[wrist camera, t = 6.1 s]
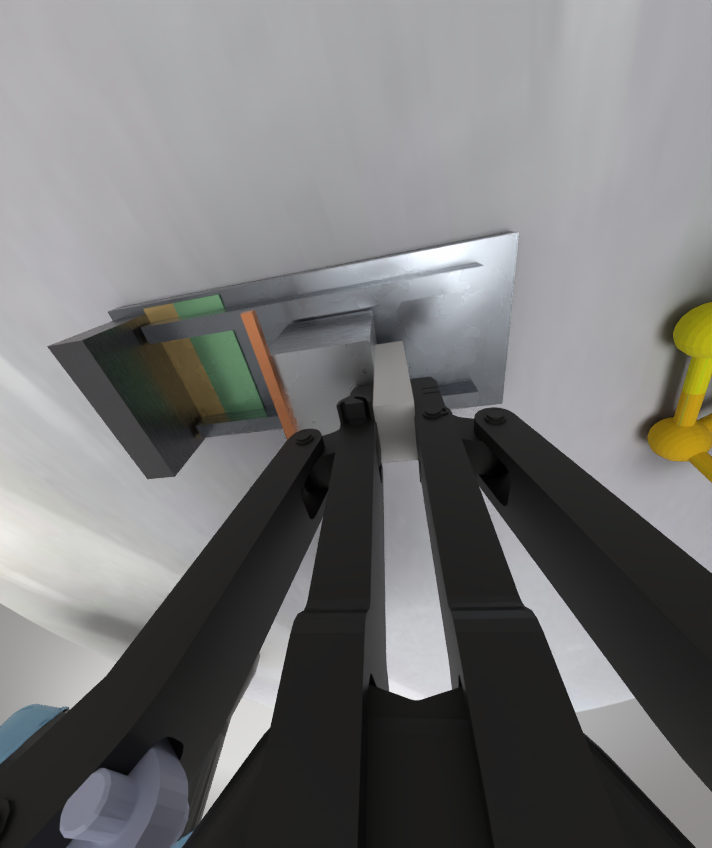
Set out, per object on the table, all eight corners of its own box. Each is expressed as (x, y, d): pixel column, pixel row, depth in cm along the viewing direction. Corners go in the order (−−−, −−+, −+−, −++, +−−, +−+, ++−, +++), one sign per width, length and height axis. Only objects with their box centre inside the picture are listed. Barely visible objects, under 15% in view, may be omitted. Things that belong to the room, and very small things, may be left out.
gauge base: (192, 431, 25) (144, 485, 20) (121, 307, 20) (31, 338, 15) (496, 395, 22) (532, 449, 17) (510, 231, 16) (570, 237, 11)
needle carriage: (318, 423, 22) (301, 478, 17) (278, 287, 17) (240, 314, 12) (387, 415, 21) (389, 470, 17) (366, 271, 16) (361, 292, 12)
